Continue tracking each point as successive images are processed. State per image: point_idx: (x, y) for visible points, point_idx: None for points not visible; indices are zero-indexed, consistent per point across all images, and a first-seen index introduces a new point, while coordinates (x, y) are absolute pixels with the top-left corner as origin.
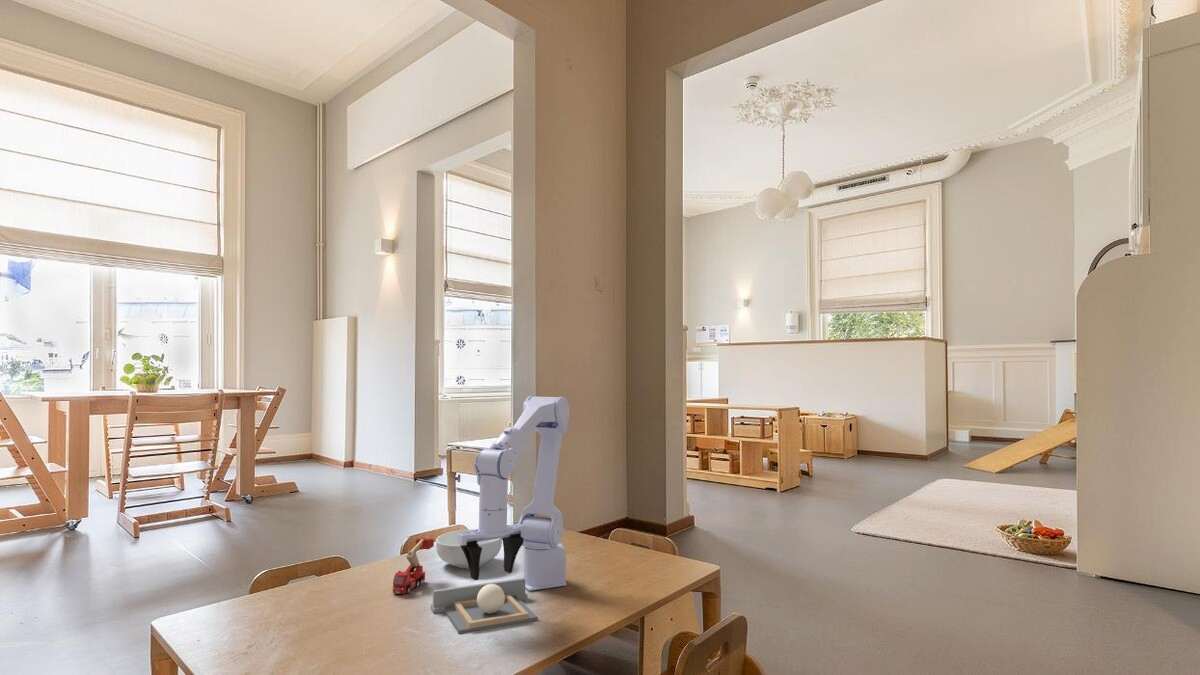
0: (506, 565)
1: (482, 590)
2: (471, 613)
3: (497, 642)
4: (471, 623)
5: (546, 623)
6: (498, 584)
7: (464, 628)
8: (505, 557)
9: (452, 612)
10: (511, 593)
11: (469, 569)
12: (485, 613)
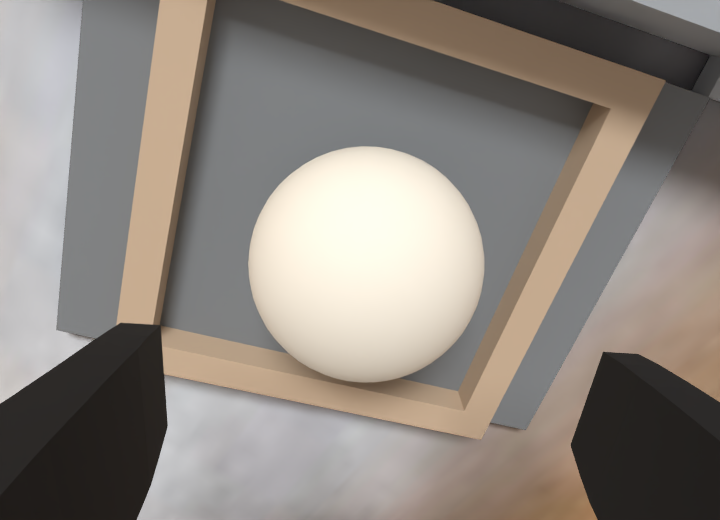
0: (628, 449)
1: (277, 298)
2: (245, 147)
3: (203, 493)
4: None
5: (520, 465)
6: (654, 9)
7: (97, 328)
8: (714, 498)
9: (126, 25)
10: (710, 46)
11: (47, 375)
12: None
